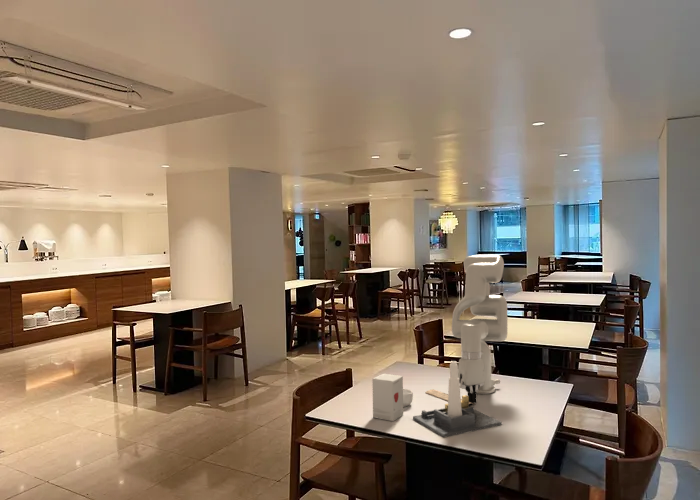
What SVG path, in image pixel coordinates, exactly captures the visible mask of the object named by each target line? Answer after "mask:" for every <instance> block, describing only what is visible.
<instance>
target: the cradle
mask: <svg viewBox="0 0 700 500" xmlns="http://www.w3.org/2000/svg"><path fill="white" fill-rule="evenodd" d="M461 410H462V415H461V416H456V417H450V416H448V415H447V413H448V411H447V412H445V407H444V408H438V409H437V408H435V409H433V410H428V411H426V410H425V409H424V410H421V414H419V415H414V416H412V419H413V420H414V421H415V422H417V423H419V424H421V425H422V426H424V427H425V428H428V429H429V430H430V431H432V432H434V433H435V434H437V435H439V436H440V437H442V438H446V437H452V436H455V435H461V434H464V433H471V432H474V431H479V430H484V429H488V428H493V427H497V426H502V425H503V424H502V423H503V421H501V420H499V419H496V418H494V417H492V416H489V415H488V414H485V413H483V412H481V411H478V410H477V409H475V408H474V406H469V407H468V408H461Z"/></svg>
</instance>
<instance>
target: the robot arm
mask: <svg viewBox="0 0 700 500" xmlns="http://www.w3.org/2000/svg"><path fill="white" fill-rule="evenodd" d="M504 266H505V262H504V258H503V257H502V256H501V255H498V254H474V255H468V256H466V257H464V259H463V268H464V271H465V284H464V285H465V287H464V296H463V297H462V298H461V299H460V300H459V301H458V302H457V304H456V305H455V307H454V309H453V312H452V320H451V333H452V335H453V337H454V338H457V339H460V345H461V346H460V349H461V353H460V354H461V356H460V357H461V358H459V360H458V364H457V365H458V378H459V383H460V389H462V390H465V391H466V392H467V396H469V402H471V403H475V404H477V394H479V395H488V394H493V393H494V392H496V387H495V385H500V384H501V380H500V379H493V378H492V350H491V348H490V347H489V346H488V344H487V343H486V342H504V341H506V340H507V337H508V303H507V299H506V297H504V296H503V295H500V294H491V291H490V290H491V289H490V288H491V286H490V283H491V284H492V283H493V284H494V283H496V284H497V283H500V281H501V280H502V278H503V273H504V268H505V267H504ZM469 308H470V312H471V314H472V315H473V316H475V317H477V316H478V317H494V318H495V319H494V318H472V319H460V318H461V315H462V314H463V312H465V311H466V310H467V309H469Z"/></svg>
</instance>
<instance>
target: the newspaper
mask: <svg viewBox="0 0 700 500" xmlns="http://www.w3.org/2000/svg"><path fill="white" fill-rule="evenodd" d="M424 392H425V394H427V395H428V396H429V395H430V396H432V397H435V398H437V399H439V400H443V401H445V402H448V393H445V392H442V391H439V390H436V389H429V390H426V391H424ZM461 401H462V398H461ZM476 404H477V403H471V402H469V405H476Z"/></svg>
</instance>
